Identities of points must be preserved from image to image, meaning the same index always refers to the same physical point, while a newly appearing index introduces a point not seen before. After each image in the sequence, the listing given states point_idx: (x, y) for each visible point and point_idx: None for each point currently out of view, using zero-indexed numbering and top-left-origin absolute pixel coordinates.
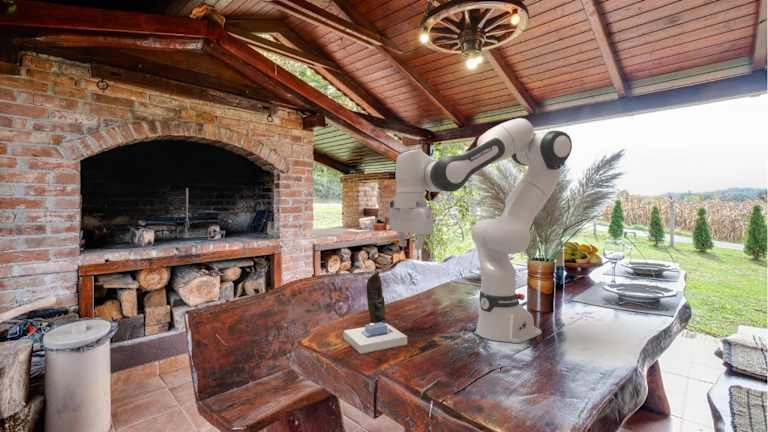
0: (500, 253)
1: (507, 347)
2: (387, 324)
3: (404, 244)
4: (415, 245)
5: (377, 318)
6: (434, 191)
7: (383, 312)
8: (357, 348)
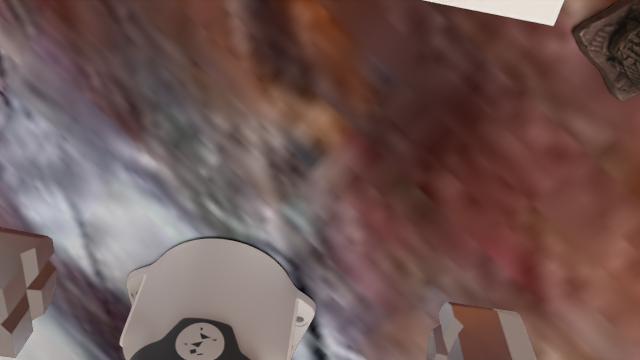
0: None
1: (123, 232)
2: (538, 17)
3: (439, 350)
4: (7, 263)
5: (635, 23)
6: None
7: (631, 70)
8: None
